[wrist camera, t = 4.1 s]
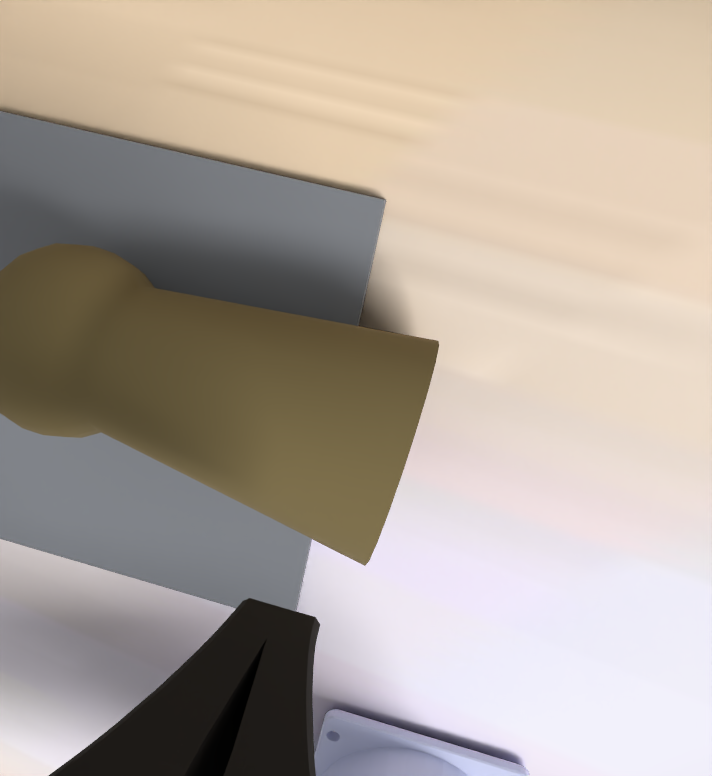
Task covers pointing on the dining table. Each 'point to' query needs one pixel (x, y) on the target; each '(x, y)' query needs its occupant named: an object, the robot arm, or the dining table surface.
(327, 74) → the dining table surface
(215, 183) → the mat
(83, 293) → the cork
